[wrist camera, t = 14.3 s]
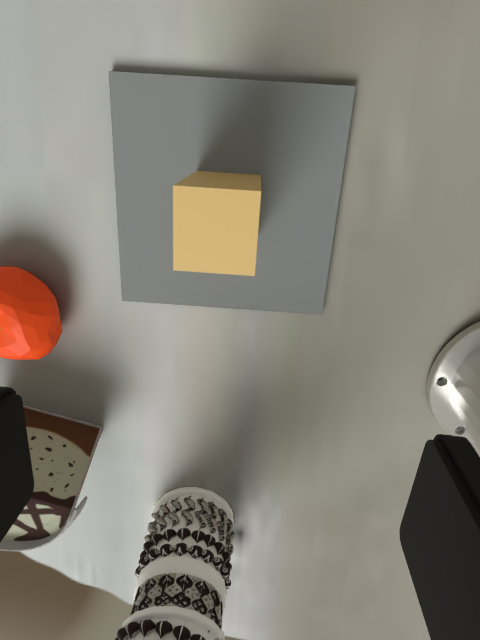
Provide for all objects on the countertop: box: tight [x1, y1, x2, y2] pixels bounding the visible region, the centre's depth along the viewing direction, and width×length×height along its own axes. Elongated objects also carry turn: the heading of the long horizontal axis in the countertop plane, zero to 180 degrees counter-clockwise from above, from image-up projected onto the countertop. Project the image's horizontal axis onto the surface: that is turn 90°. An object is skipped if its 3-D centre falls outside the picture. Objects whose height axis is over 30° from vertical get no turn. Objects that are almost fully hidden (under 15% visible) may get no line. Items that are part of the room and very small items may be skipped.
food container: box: [0, 405, 103, 551], centre depth 36 cm, size 12×6×10 cm, turn 72°
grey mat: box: [109, 71, 356, 314], centre depth 31 cm, size 16×16×1 cm
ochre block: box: [173, 171, 261, 276], centre depth 27 cm, size 4×4×9 cm
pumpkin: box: [0, 266, 62, 359], centre depth 32 cm, size 7×8×6 cm
